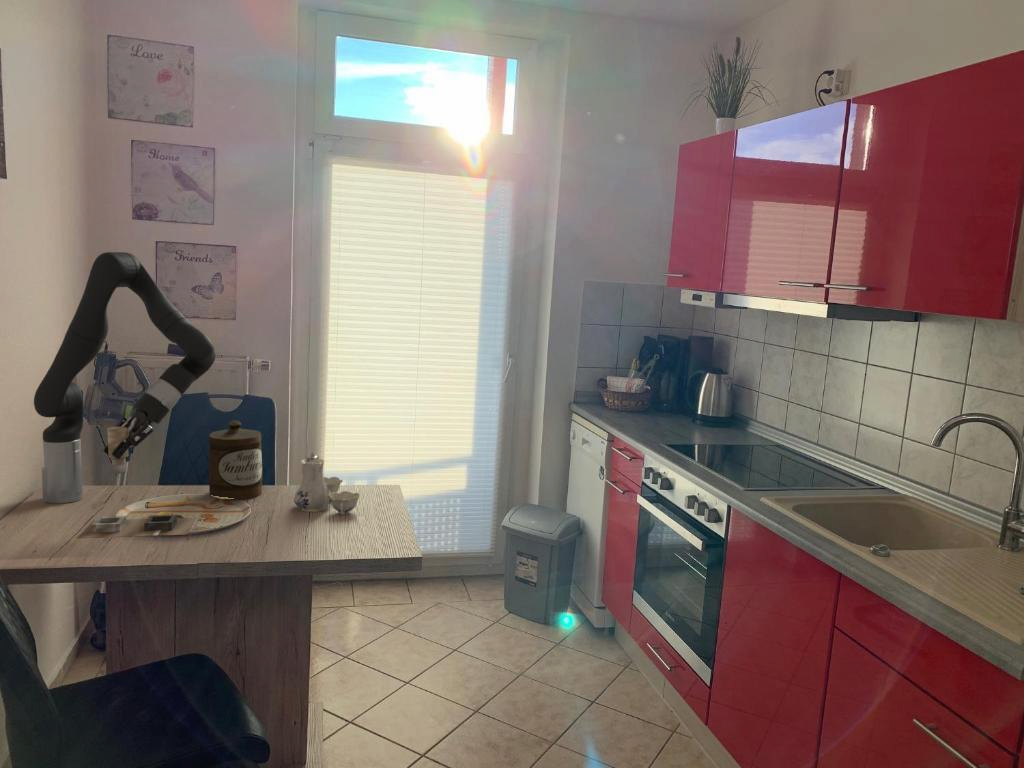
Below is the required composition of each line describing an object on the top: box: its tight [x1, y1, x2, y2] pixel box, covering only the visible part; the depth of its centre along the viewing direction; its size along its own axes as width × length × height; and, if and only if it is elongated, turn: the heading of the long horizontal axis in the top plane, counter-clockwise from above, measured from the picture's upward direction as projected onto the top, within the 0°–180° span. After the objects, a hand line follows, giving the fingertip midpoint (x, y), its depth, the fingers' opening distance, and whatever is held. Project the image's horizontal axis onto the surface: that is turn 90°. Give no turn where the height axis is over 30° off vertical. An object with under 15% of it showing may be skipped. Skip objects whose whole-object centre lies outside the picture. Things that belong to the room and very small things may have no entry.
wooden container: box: [208, 420, 263, 501], centre depth 240 cm, size 15×15×22 cm
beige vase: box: [107, 426, 129, 475], centre depth 200 cm, size 4×4×11 cm
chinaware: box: [293, 451, 360, 516], centre depth 231 cm, size 28×17×17 cm, turn 33°
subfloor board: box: [76, 511, 198, 541], centre depth 203 cm, size 25×14×4 cm, turn 102°
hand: (110, 454), depth 198 cm, fingers closed on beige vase, 4 cm apart
